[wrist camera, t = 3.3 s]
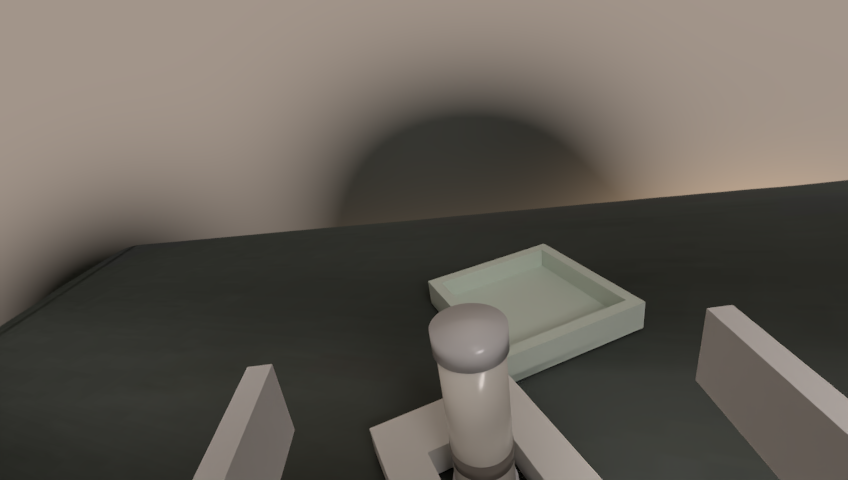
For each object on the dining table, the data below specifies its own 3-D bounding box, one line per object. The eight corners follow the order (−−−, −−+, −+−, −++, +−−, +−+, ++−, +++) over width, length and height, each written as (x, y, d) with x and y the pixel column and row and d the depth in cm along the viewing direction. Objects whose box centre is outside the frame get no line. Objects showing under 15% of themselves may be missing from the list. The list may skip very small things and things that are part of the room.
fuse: (533, 506, 29) (524, 332, 23) (473, 537, 28) (448, 362, 22) (498, 455, 33) (483, 295, 27) (444, 480, 32) (417, 318, 26)
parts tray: (643, 327, 44) (645, 302, 42) (502, 387, 39) (499, 360, 38) (544, 264, 58) (543, 243, 56) (431, 303, 53) (428, 281, 52)
